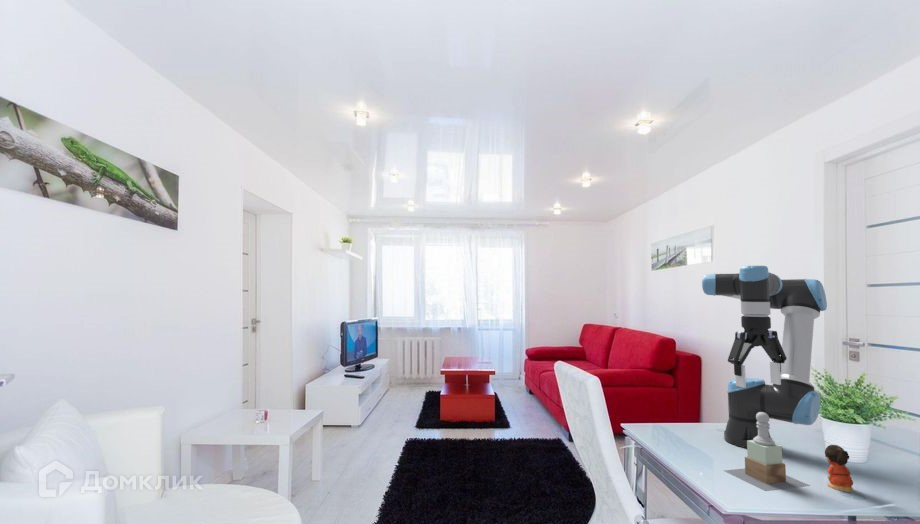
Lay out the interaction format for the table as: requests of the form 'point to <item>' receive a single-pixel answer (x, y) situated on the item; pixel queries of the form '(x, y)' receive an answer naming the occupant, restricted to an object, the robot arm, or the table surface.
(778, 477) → the block bottom
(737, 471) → the mat
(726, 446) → the table surface
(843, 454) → the figurine
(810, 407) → the robot arm
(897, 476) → the table surface
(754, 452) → the block top
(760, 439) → the chess piece
